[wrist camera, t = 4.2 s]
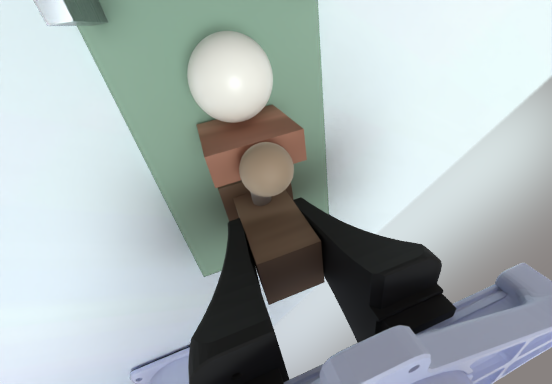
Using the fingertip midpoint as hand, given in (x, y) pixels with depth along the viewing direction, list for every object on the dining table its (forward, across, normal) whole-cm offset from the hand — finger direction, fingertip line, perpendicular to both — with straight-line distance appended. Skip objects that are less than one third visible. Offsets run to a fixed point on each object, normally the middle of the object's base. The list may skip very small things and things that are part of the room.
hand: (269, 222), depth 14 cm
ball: (+1, 0, -7) cm, 7 cm away
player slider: (+3, 0, -2) cm, 3 cm away
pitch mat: (+3, 0, -4) cm, 5 cm away
